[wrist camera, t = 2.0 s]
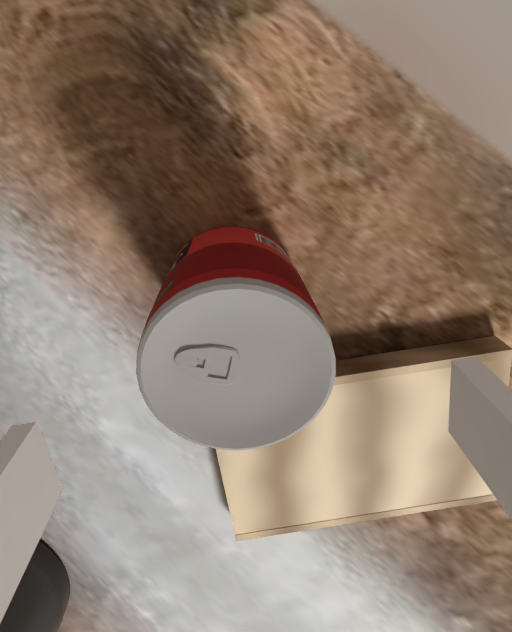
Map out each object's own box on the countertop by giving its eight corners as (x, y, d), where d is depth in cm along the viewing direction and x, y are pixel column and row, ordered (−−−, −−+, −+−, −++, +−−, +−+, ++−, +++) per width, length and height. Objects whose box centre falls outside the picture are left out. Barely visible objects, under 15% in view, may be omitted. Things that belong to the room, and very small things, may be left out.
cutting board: (235, 519, 35) (236, 541, 33) (205, 380, 30) (203, 397, 28) (482, 480, 35) (497, 500, 33) (494, 335, 30) (512, 349, 28)
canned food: (161, 226, 26) (118, 289, 15) (296, 219, 26) (341, 275, 16) (176, 343, 28) (148, 460, 18) (297, 335, 29) (335, 445, 19)
